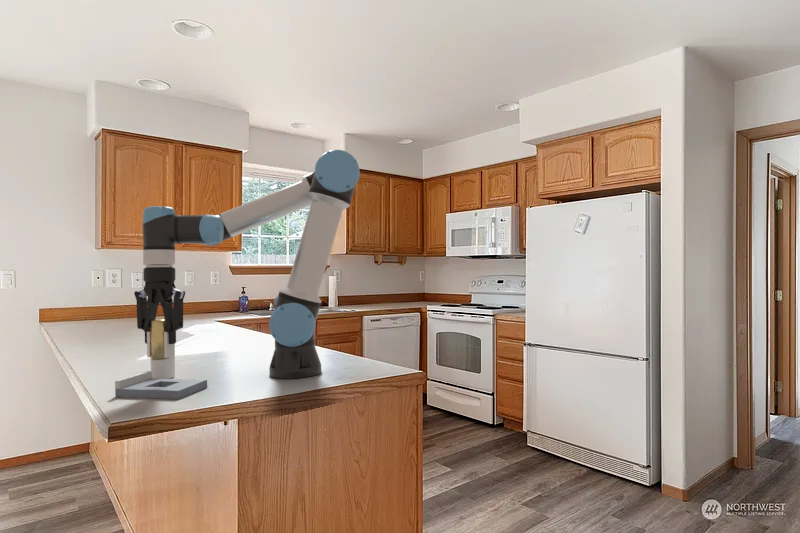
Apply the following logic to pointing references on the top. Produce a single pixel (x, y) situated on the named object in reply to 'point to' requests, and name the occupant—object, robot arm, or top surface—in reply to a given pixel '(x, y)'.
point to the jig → (156, 387)
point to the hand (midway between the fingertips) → (160, 356)
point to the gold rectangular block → (157, 339)
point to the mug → (163, 368)
